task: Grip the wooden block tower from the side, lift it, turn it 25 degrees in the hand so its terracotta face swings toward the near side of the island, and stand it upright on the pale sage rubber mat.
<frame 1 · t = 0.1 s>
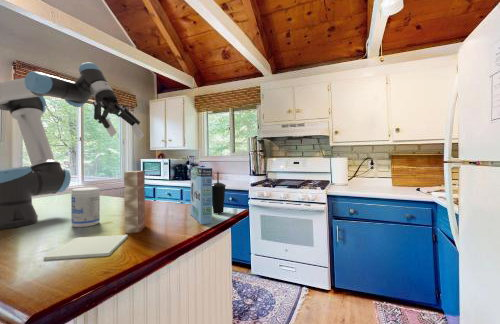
hand: (128, 136, 96), 36 cm above the counter, tool tilted 35°, fingers open, 13 cm apart
mat: (91, 247, 74), on the counter
supplement tub: (86, 225, 99), on the counter
drinking cup: (218, 213, 118), on the counter
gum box: (200, 219, 107), on the counter
wooden block tower: (135, 229, 92), on the counter
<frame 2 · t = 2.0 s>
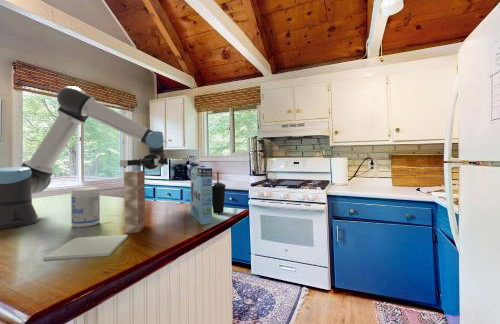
hand: (138, 162, 99), 25 cm above the counter, tool horizontal, fingers open, 13 cm apart
nothing on the counter moved.
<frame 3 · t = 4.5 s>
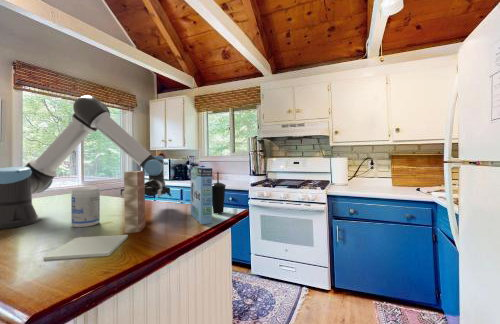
hand: (141, 194, 98), 12 cm above the counter, tool horizontal, fingers open, 13 cm apart
nothing on the counter moved.
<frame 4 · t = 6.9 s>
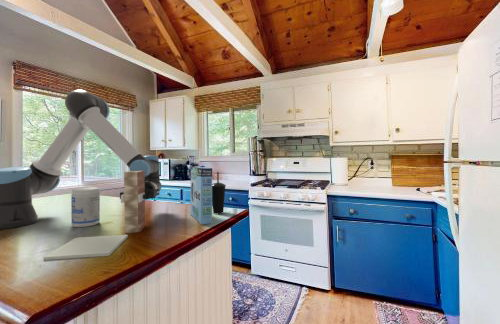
hand: (130, 198, 86), 13 cm above the counter, tool horizontal, fingers closed on wooden block tower, 5 cm apart
wooden block tower: (135, 229, 92), on the counter, touching gripper
everything else where it was.
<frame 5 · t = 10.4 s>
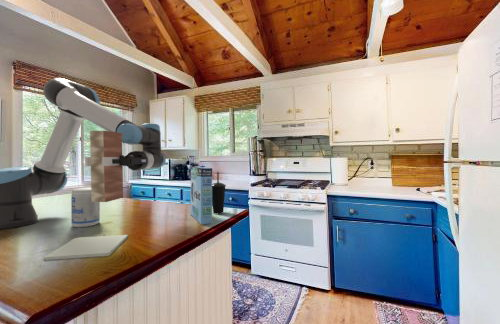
hand: (94, 161, 73), 26 cm above the counter, tool horizontal, fingers closed on wooden block tower, 5 cm apart
wooden block tower: (108, 199, 79), point 14 cm above the counter, touching gripper
everything else where it was.
when the fingers open (14 cm above the counter, at t = 13.7 s): wooden block tower stays where it is, resting on mat.
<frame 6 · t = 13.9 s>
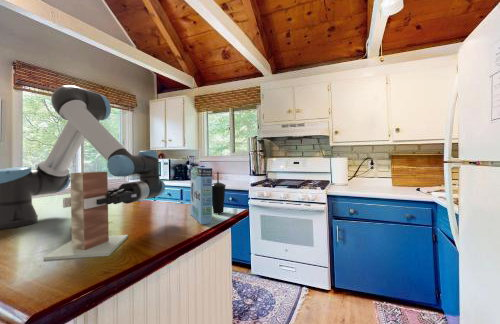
hand: (74, 203, 69), 14 cm above the counter, tool horizontal, fingers open, 7 cm apart
wooden block tower: (91, 244, 74), point 1 cm above the counter, touching mat
everything else where it was.
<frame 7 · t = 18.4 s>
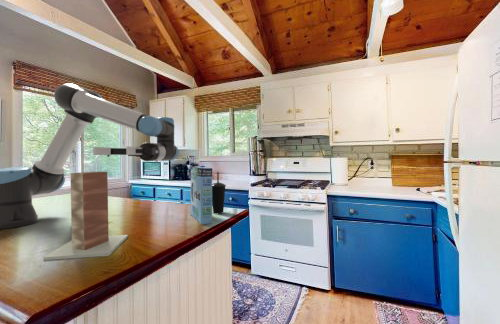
hand: (110, 150, 80), 30 cm above the counter, tool horizontal, fingers open, 13 cm apart
nothing on the counter moved.
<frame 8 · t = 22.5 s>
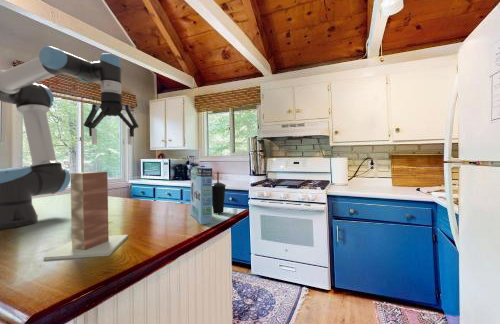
hand: (112, 144, 101), 33 cm above the counter, tool pointing down, fingers open, 13 cm apart
nothing on the counter moved.
at the end: wooden block tower inside the target area (0.0 cm from its centre), point 0.8 cm above the counter; wooden block tower tilted 0°; the gripper is holding nothing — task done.
